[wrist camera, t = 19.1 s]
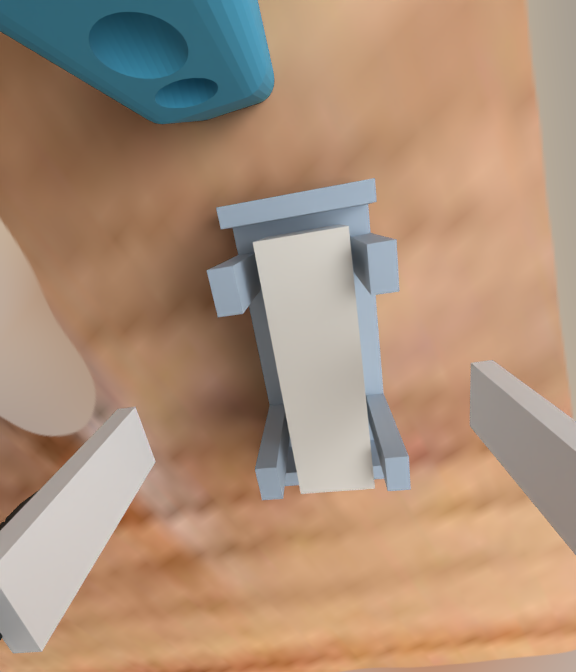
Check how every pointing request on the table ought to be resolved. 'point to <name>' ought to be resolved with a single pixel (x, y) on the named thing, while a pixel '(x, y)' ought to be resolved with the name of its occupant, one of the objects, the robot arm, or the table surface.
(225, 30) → the block
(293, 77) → the table surface
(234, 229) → the rack
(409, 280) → the table surface
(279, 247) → the white rectangular bar
